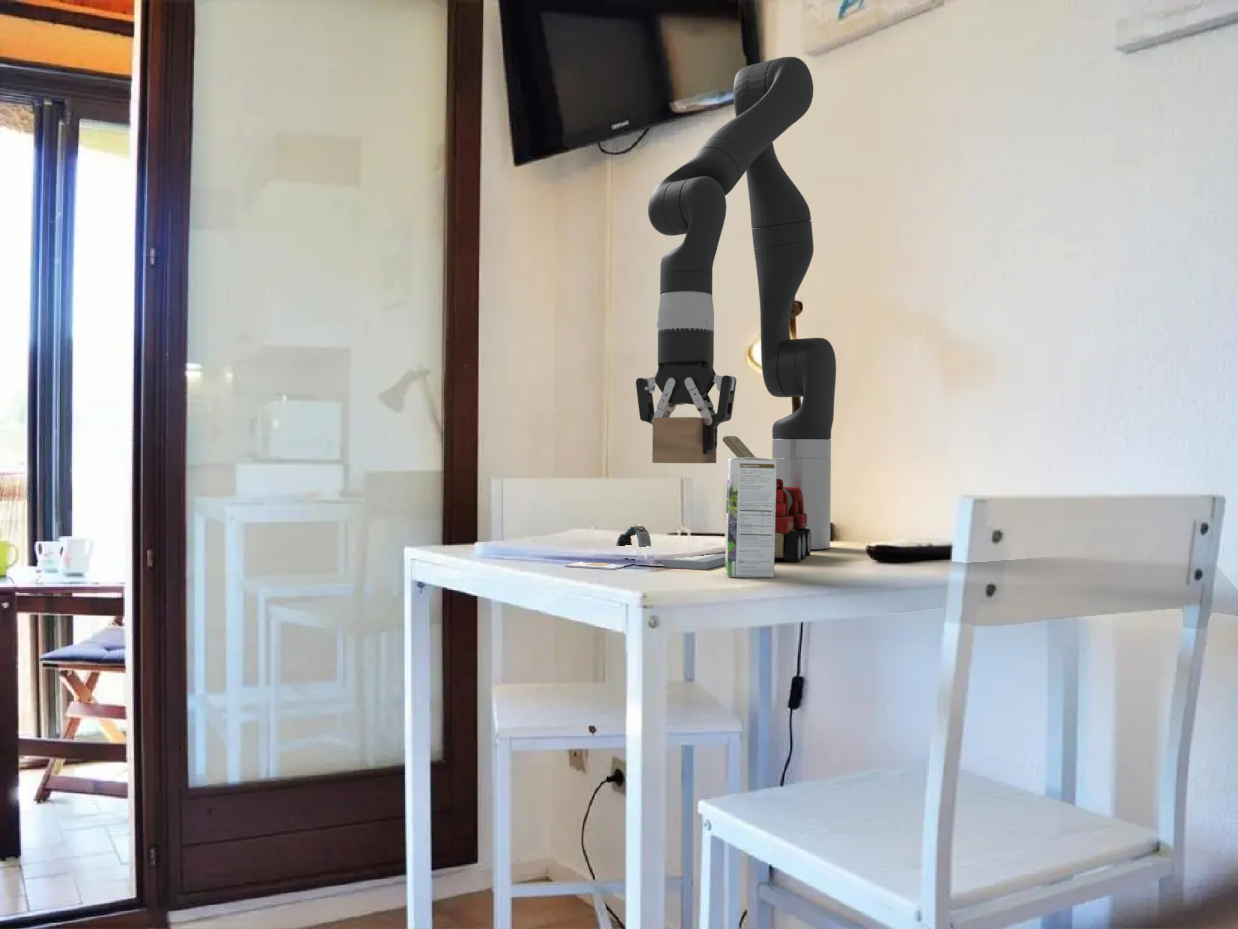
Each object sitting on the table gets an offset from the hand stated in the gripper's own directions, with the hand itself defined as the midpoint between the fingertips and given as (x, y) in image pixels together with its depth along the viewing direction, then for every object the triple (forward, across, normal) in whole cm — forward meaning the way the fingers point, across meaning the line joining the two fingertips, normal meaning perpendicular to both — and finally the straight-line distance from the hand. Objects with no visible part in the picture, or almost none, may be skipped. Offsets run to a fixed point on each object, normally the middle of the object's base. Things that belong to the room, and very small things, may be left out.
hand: (684, 453), depth 141 cm
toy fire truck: (+15, -7, -15) cm, 22 cm away
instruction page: (+15, +9, +6) cm, 18 cm away
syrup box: (+15, -12, +8) cm, 21 cm away
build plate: (+15, 0, 0) cm, 15 cm away
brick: (+1, 0, 0) cm, 1 cm away
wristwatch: (+15, +9, -3) cm, 18 cm away
